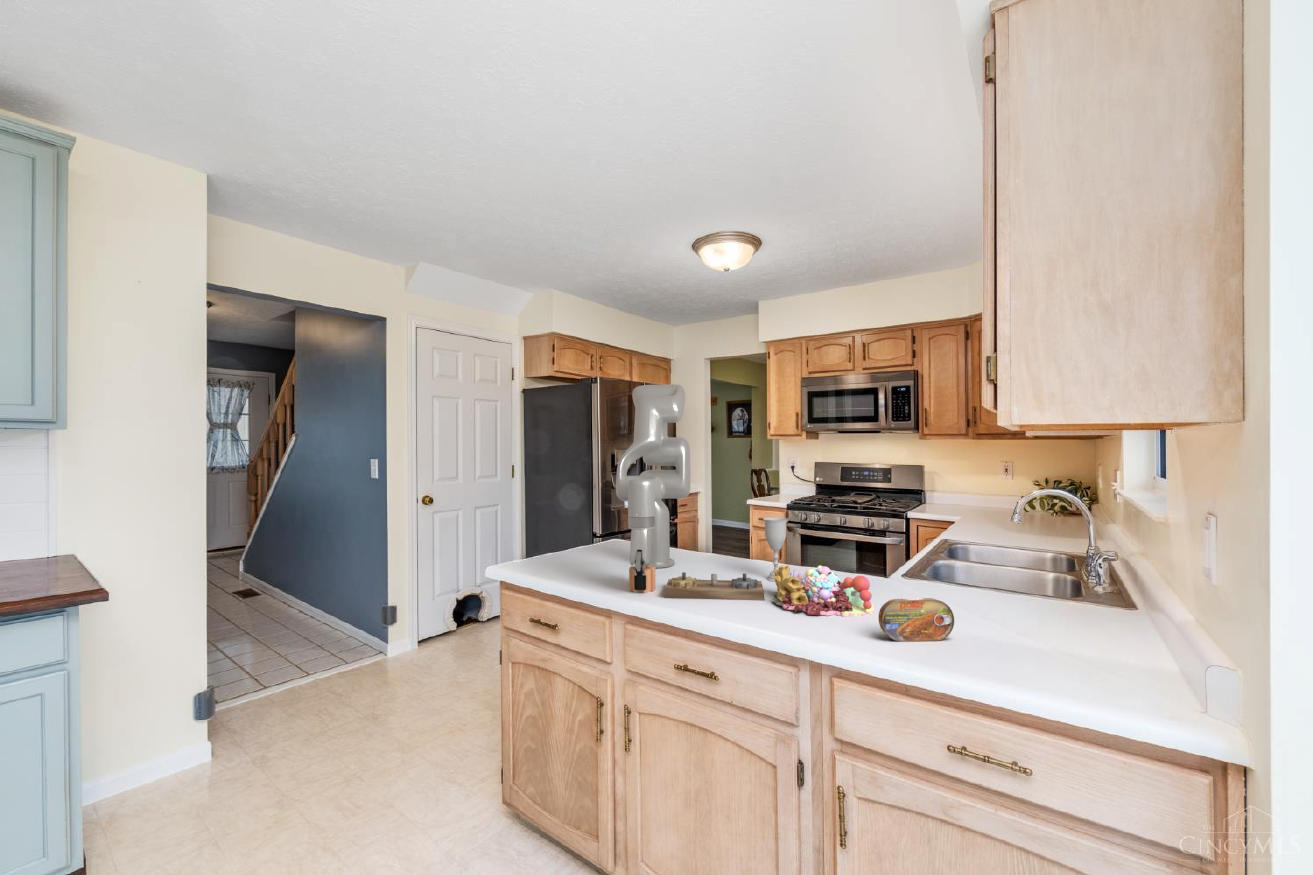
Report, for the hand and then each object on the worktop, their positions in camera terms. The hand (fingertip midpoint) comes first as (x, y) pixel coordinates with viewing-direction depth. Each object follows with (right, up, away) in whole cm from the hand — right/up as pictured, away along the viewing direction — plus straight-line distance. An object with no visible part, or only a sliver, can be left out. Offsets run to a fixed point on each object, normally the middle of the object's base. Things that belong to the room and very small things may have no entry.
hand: (642, 585), depth 159 cm
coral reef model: (+46, -1, -14) cm, 48 cm away
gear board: (+20, -1, -4) cm, 20 cm away
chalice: (+39, -1, +10) cm, 41 cm away
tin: (+58, -1, -41) cm, 71 cm away
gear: (0, -1, 0) cm, 1 cm away
